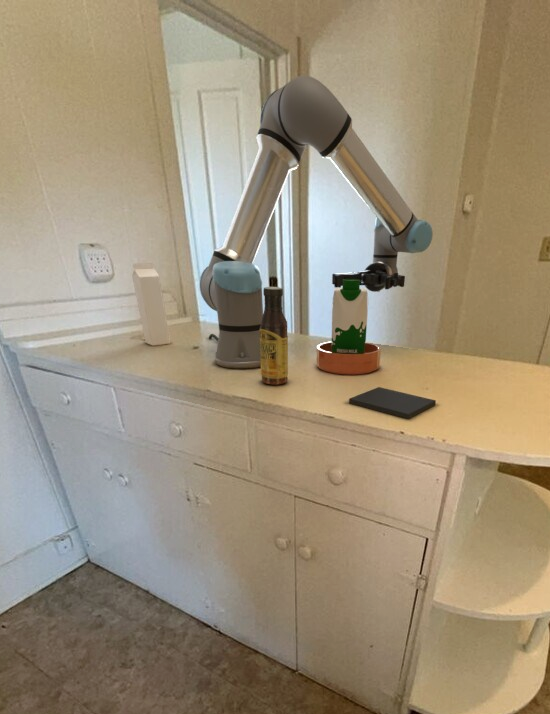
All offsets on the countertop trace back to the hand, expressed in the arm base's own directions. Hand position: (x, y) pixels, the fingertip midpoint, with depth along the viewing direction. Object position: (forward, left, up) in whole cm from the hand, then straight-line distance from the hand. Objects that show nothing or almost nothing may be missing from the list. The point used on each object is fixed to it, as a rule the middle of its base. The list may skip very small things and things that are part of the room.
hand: (360, 282), depth 110 cm
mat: (+29, -27, -19) cm, 44 cm away
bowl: (+4, -9, -19) cm, 22 cm away
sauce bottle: (0, -32, -19) cm, 37 cm away
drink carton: (+4, -9, -19) cm, 21 cm away
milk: (-59, -26, -19) cm, 68 cm away
